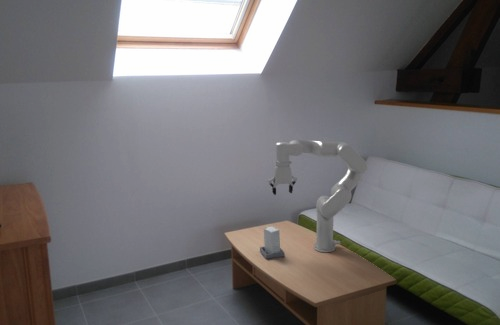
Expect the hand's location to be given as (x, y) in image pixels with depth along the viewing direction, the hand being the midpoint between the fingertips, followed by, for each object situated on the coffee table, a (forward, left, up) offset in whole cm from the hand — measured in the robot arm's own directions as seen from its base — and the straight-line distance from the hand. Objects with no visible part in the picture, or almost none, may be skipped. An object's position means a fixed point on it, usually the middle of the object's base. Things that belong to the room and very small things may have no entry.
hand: (282, 193), depth 240 cm
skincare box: (+8, +4, -34) cm, 35 cm away
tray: (+8, +4, -34) cm, 35 cm away
